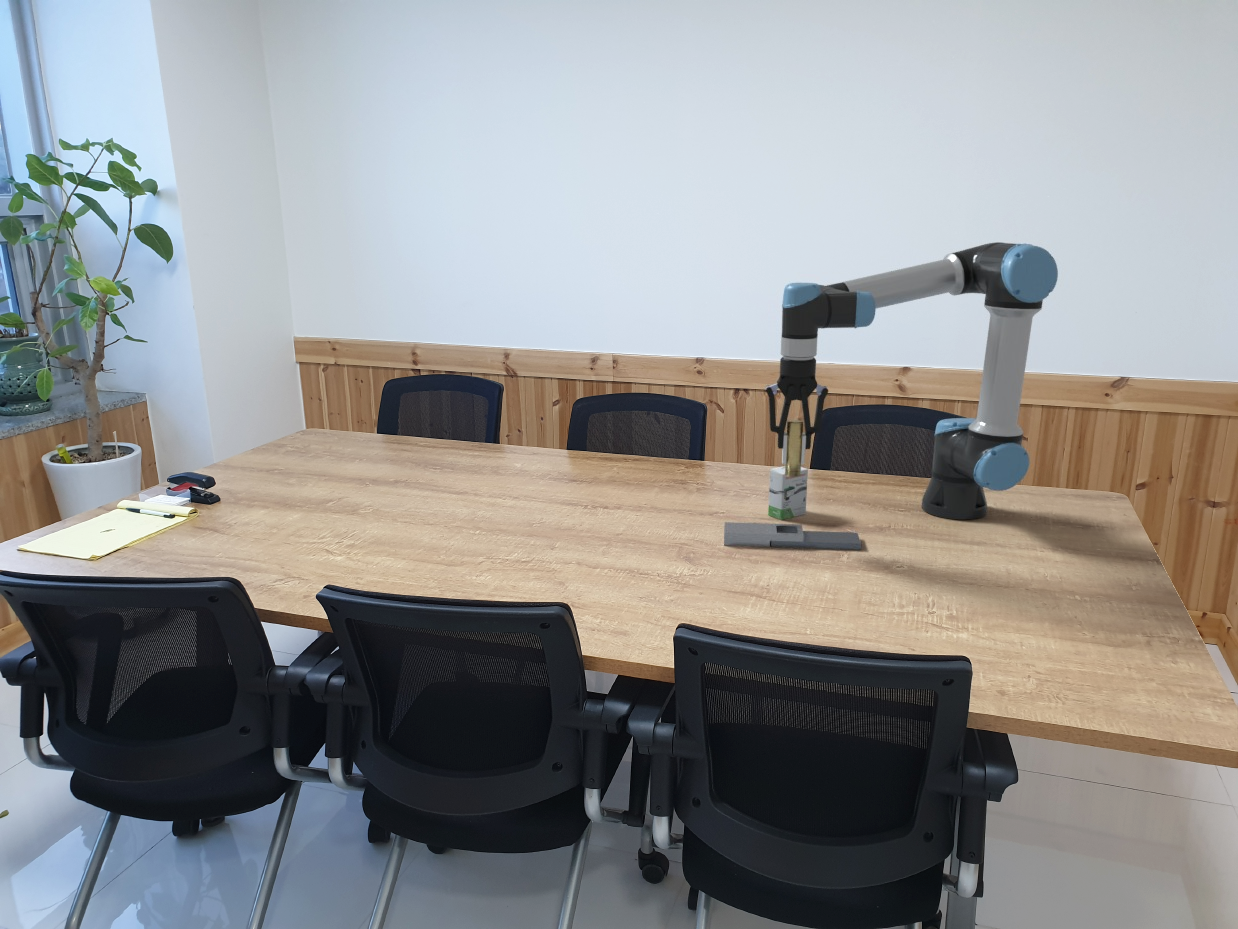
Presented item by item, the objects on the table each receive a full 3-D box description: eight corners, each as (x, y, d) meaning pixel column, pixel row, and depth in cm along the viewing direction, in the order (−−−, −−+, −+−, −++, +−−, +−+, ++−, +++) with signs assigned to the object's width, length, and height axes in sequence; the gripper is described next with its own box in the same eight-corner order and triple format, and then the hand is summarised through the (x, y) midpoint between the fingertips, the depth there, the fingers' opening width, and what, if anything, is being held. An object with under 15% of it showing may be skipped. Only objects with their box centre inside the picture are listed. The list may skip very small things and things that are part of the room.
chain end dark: (856, 538, 207) (857, 532, 207) (860, 550, 200) (861, 543, 200) (770, 535, 210) (770, 529, 209) (771, 546, 203) (771, 540, 203)
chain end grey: (801, 536, 209) (801, 524, 208) (803, 548, 202) (803, 535, 201) (724, 534, 211) (724, 522, 210) (723, 545, 204) (724, 532, 203)
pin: (799, 472, 202) (802, 420, 199) (801, 477, 199) (803, 423, 195) (784, 472, 202) (786, 419, 199) (785, 476, 199) (787, 423, 196)
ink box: (781, 520, 219) (783, 473, 216) (767, 515, 223) (768, 469, 220) (807, 513, 224) (809, 467, 221) (792, 508, 228) (794, 463, 225)
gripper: (835, 354, 196) (829, 459, 203) (758, 353, 198) (755, 457, 204) (839, 360, 189) (832, 468, 195) (760, 359, 191) (756, 466, 197)
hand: (793, 462), depth 200 cm, fingers closed on pin, 3 cm apart
